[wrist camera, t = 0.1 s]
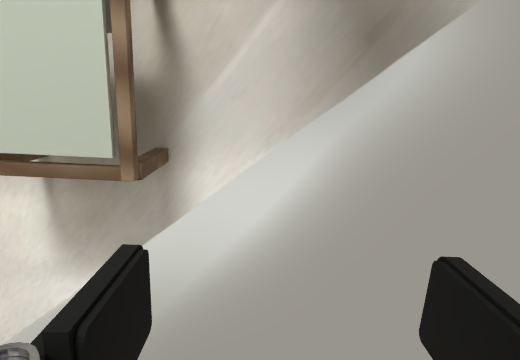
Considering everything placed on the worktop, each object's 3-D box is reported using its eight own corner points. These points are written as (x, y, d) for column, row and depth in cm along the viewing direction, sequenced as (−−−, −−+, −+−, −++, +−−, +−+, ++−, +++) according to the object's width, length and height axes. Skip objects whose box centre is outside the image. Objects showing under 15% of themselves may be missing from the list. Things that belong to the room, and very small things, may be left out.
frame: (11, -39, 35) (-97, -99, 24) (163, -31, 35) (122, -86, 25) (37, 154, 41) (-43, 175, 30) (168, 160, 41) (136, 183, 30)
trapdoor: (-8, -12, 30) (-62, -34, 25) (126, -5, 31) (99, -25, 26) (15, 143, 34) (-28, 151, 29) (134, 149, 34) (112, 158, 29)
